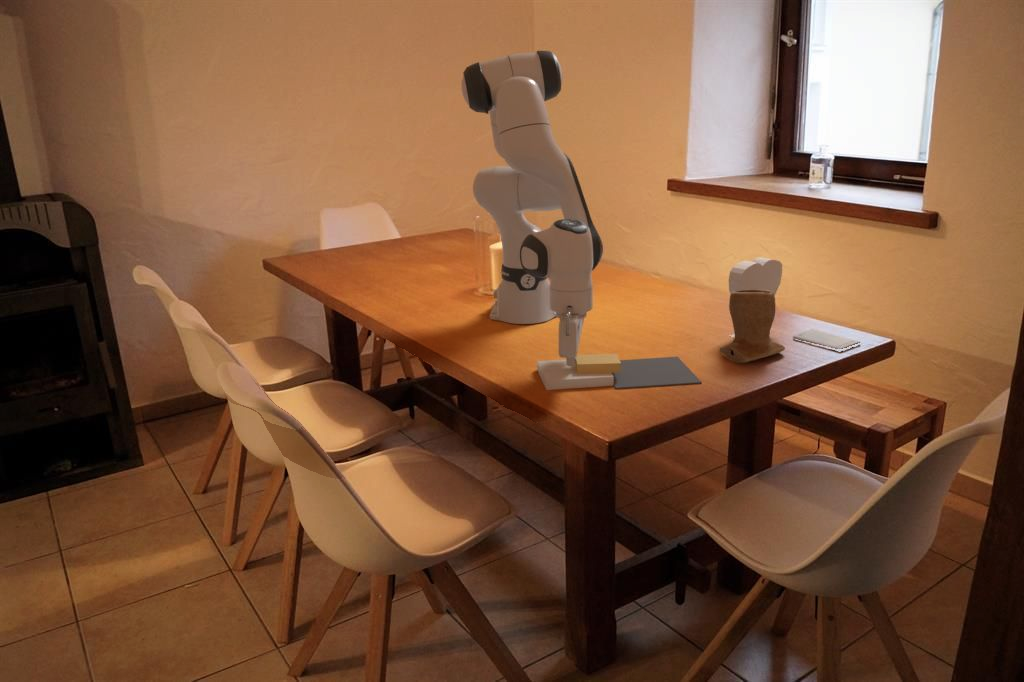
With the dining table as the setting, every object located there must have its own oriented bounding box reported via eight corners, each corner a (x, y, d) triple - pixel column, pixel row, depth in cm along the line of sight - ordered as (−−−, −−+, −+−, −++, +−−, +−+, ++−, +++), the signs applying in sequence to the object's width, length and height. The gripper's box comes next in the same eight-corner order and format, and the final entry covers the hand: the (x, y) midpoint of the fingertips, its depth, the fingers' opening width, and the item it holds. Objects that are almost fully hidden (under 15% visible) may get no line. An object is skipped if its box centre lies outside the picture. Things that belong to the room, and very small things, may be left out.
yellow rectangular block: (577, 373, 173) (577, 364, 173) (575, 363, 179) (575, 354, 178) (620, 372, 173) (620, 363, 173) (617, 362, 179) (617, 353, 178)
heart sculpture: (763, 324, 209) (768, 253, 203) (780, 329, 205) (786, 257, 200) (722, 337, 200) (726, 263, 195) (739, 342, 196) (744, 267, 191)
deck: (537, 369, 182) (537, 361, 181) (600, 365, 183) (600, 357, 183) (546, 390, 170) (546, 380, 170) (613, 385, 172) (613, 376, 171)
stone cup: (749, 342, 197) (754, 280, 192) (791, 355, 187) (797, 290, 182) (704, 355, 188) (707, 290, 184) (746, 369, 179) (750, 302, 174)
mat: (598, 362, 185) (598, 361, 185) (677, 357, 187) (677, 356, 187) (615, 389, 170) (615, 387, 170) (701, 383, 172) (701, 382, 172)
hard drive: (792, 335, 197) (840, 348, 188) (813, 328, 202) (861, 340, 192) (792, 342, 198) (839, 355, 188) (813, 335, 202) (860, 347, 193)
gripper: (583, 314, 161) (583, 382, 165) (589, 288, 180) (588, 348, 185) (550, 314, 162) (551, 381, 166) (560, 287, 181) (560, 348, 185)
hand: (571, 363), depth 176 cm, fingers closed
